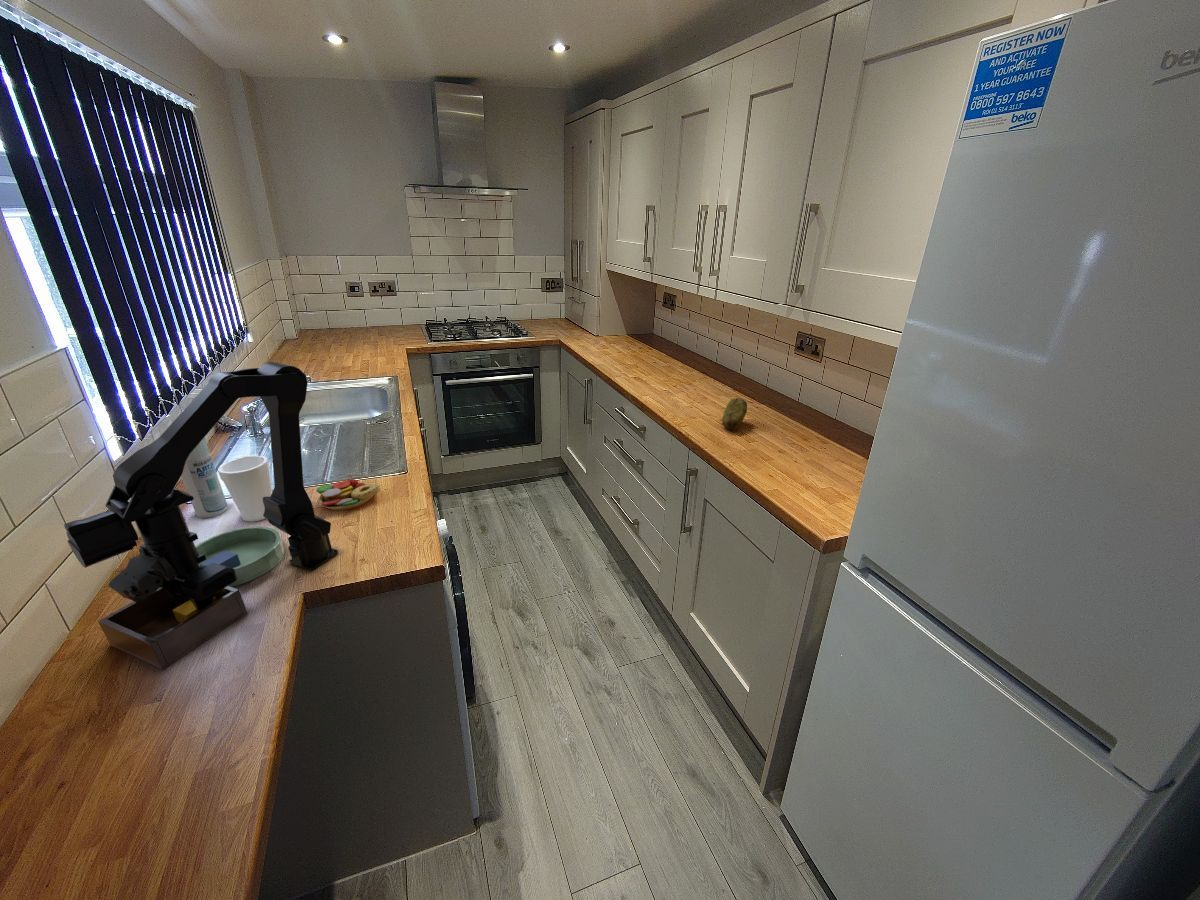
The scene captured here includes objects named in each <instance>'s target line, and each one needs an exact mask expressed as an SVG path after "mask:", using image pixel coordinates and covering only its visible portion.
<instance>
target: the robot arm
mask: <svg viewBox="0 0 1200 900" xmlns="http://www.w3.org/2000/svg"><path fill="white" fill-rule="evenodd" d="M307 391H308V378H307V375H306V373H305V372H303V371H302V370H301V369H300V368H299V367H297V366H295V365H290V364H286V363H281V362H277V361H269V362H265V363H263V364H262V365H261V366H260V367H252V368H243V369H238V370H233V371H219V372H215V373H214V374H213V375H211V377H210V378H209V380H208V382H207V384H206V385H205V386H204V387H203V388H202V389H201V390H200V391H199V393H197V395H196V396H195V397H194V398H193V399H192V400H191V402H190V403H189V404H188V405H187V406H186V407H185V408H184V409H183V410H182V411H181V413H180V414H178V415H177V417H176V418H175V419H174V420H173V421H172V422H171V423H170V424H169V426H168V427H167V428H166V429H165V430H164V431H163V432H162V433H161V435H160V436H159V437H157V438H156V439H155V440H154V441H152V442H151V443H149V444H147V445H145V446H144V447H142V448H140V449H137V450H136V451H135V452H134V453H133V454H131V455H130V456H129V457H128V458H126V459H125V460H124V461H122V462H120V464H119V465H118V466H117V467H116V468H115V470H114V471H113V474H112V479H113V483H114V486H113V488H112V490H111V492H110V494H109V497H108V498H107V500H106V503H105V508H107V509H108V510H106V511H103V512H99V513H97V514H94V515H91V516H88V517H86V518H82V519H76V520H75V519H74V520H72V521H70V522H67V523H64V525H63V527H64V529H65V531H66V536H67V539H68V540H67V543H68V546H69V547H70V549H71V551H72V553H73V554H74V556H75V558H76V559H77V560H78V562H79V563H80V565H81V567H83V568H84V569H86V568H89V567H91V566H93V565H96V564H99V563H101V562H103V561H106V560H109V559H111V558H114V557H116V556H118V555H122V554H124V553H126V552H129V551H132V550H133V549H134V547H136V546H138V543H137V541H139V535H140V537H141V538H142V541H143V544H141V545H139V549H138V552H139V554H138V555H135V556H133V557H132V558H130V559H129V561H128V563H127V564H126V567H125V568H123V570H121V571H120V572H119V573H118V574H117V575H116V576H114V577H113V578H112V579H111V580H110V581H109V582H108V587H109V588H110V589H112V590H113V591H115V592H116V593H117V594H119V595H120V596H121V597H123V598H124V599H127V600H130V601H131V602H141V601H143V600H144V599H145V598H146V597H148V596H151V595H152V594H153V593H154V592H155V591H156V590H158V589H159V588H160V587H162V588H166V589H167V590H168V591H169V592H170V593H171V594H172V595H173V596H174V597H175V598H176V599H177V601H178V602H179V603H180V604H181V605H182V604H184V603H185V602H187V601H189V600H191V602H192V603H193V605H194V606H195V608H196V609H197V611H198V612H199V611H201V610H202V609H204V608H206V607H207V606H209V605H210V604H212V600H213V596H214V594H215V593H217V592H218V591H220V590H222V589H223V588H225V587H227V586H228V585H230V584H232V583H233V582H235V581H236V580H237V576H236V573H235V570H234V569H233V568H230V567H227V566H224V565H221V564H216V563H212V564H210V565H209V566H204V567H201V566H199V563H201V562H203V561H205V560H206V557H205V554H201V553H198V552H197V549H196V547H195V546H196V545H195V542H196V541H197V540H199V537H198V534H197V533H196V532H192V531H190V529H189V527H188V524H187V522H186V518H185V517H184V514H183V511H182V509H181V505H183V504H187V503H191V501H192V500H193V499H194V497H193V496H191V495H190V494H188V492H187V491H184V490H180V489H178V488H176V486H177V484H178V482H179V480H180V479H181V478H182V477H181V475H182V473H183V470H184V466H185V463H186V460H187V458H188V457H189V455H190V453H191V452H192V451H193V450H194V449H195V448H196V446H197V445H198V444H199V443H200V442H201V441H202V440H203V438H204V437H205V438H206V436H207V435H208V434H209V432H210V431H211V430H212V429H213V428H214V427H215V426H216V425H217V424H218V422H219V421H220V420H221V419H222V418H223V417H224V415H225V414H226V413H227V412H228V410H230V408H231V407H232V406H233V405H234V404H235V403H236V402H237V400H238V399H242V398H252V397H253V398H255V397H256V398H257V397H260V399H261V402H262V404H263V405H264V407H265V409H266V410H267V413H268V418H269V419H268V420H269V421H268V422H269V432H270V444H271V445H270V446H271V456H272V457H271V458H272V469H273V471H272V472H273V481H274V482H273V483H274V487H273V489H272V494H271V496H269V497H263V503H264V507H265V511H264V514H263V517H265V519H267V522H268V523H269V524H270V525H272V526H273V527H275V528H276V529H278V530H280V531H281V532H283V533H285V534H287V535H289V536H288V537H287V541H288V545H289V546H288V551H289V555H290V558H291V559H289V564H291V565H294V566H297V567H301V568H304V569H307V570H311V571H312V570H315V569H316V568H318V567H319V566H321V565H322V564H324V563H326V562H327V561H328V560H330V559H331V558H333V557H335V556H336V555H337V554H338V553H339V550H338V549H335V548H333V547H332V543H331V540H330V536H329V534H330V533H331V526H332V523H331V522H330V521H328V520H326V519H324V518H322V517H320V516H319V515H316V513H315V510H314V505H313V503H312V500H311V498H310V496H309V495H308V493H307V490H306V489H305V485H304V471H303V457H302V456H303V454H302V442H301V441H302V439H301V426H300V412H301V411H302V408H303V406H304V404H305V403H306V399H307ZM133 522H134V523H135V525H136V527H137V530H138V532H139V535H138V533H137V531H136V529H135V527H134V524H133Z"/></svg>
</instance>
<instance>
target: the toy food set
mask: <svg viewBox="0 0 1200 900" xmlns="http://www.w3.org/2000/svg"><path fill="white" fill-rule="evenodd" d="M380 491H381V487H380V485H379V484H378V483H376V482H371V483H369V482H360V481H358V480H357V479H355V478H349V479H346V480H341V481H337V482H335V483H333V484H324V485H320V486H318V487H317V488H316V492H317V493H318V494H319V496H318V501H317V502H318V504H319V505H320V506H321V507H324V508H325V509H328V510H334V511H341V510H342V511H343V510H350V509H353V508H356V507H359V506H362V505H364V504H366V503H367V502H369V501H370V500H371V499H372V498H373V496H375V495H377V494H378V493H379V492H380Z"/></svg>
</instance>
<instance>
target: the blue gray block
mask: <svg viewBox="0 0 1200 900" xmlns="http://www.w3.org/2000/svg"><path fill="white" fill-rule="evenodd" d="M212 563H216V564H221V565H224V566H227V567H230V568H235V567H237V566H239V565H240V564H241V563H240V560H239V558H238V555H237V554H235V553H232V552H229V551H226V550H225V551H223V552H221V553H219V554H217V555H216V556H214V557H212V558H210V559H208V560H206V561H205V562H203V563H201V564H199V565H200V566H201V567H204V566H209V565H210V564H212Z"/></svg>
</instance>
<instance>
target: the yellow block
mask: <svg viewBox="0 0 1200 900" xmlns="http://www.w3.org/2000/svg"><path fill="white" fill-rule="evenodd" d="M215 601H217V598H216V597H215V596H213V600H212V603H214V602H215ZM173 613H174V615H175V617H176V619H177V621H178V622H183V621H185V620H186V619H188V618H189V617H191V616H193V615H194V614H196V613H198V611H197V609H196V608H195V606H194V605H193V603H192V602H191V600H189V601H187V602H185V603H184V604H182V605H180V606H179V607H177V608H175V609H174V610H173Z"/></svg>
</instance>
